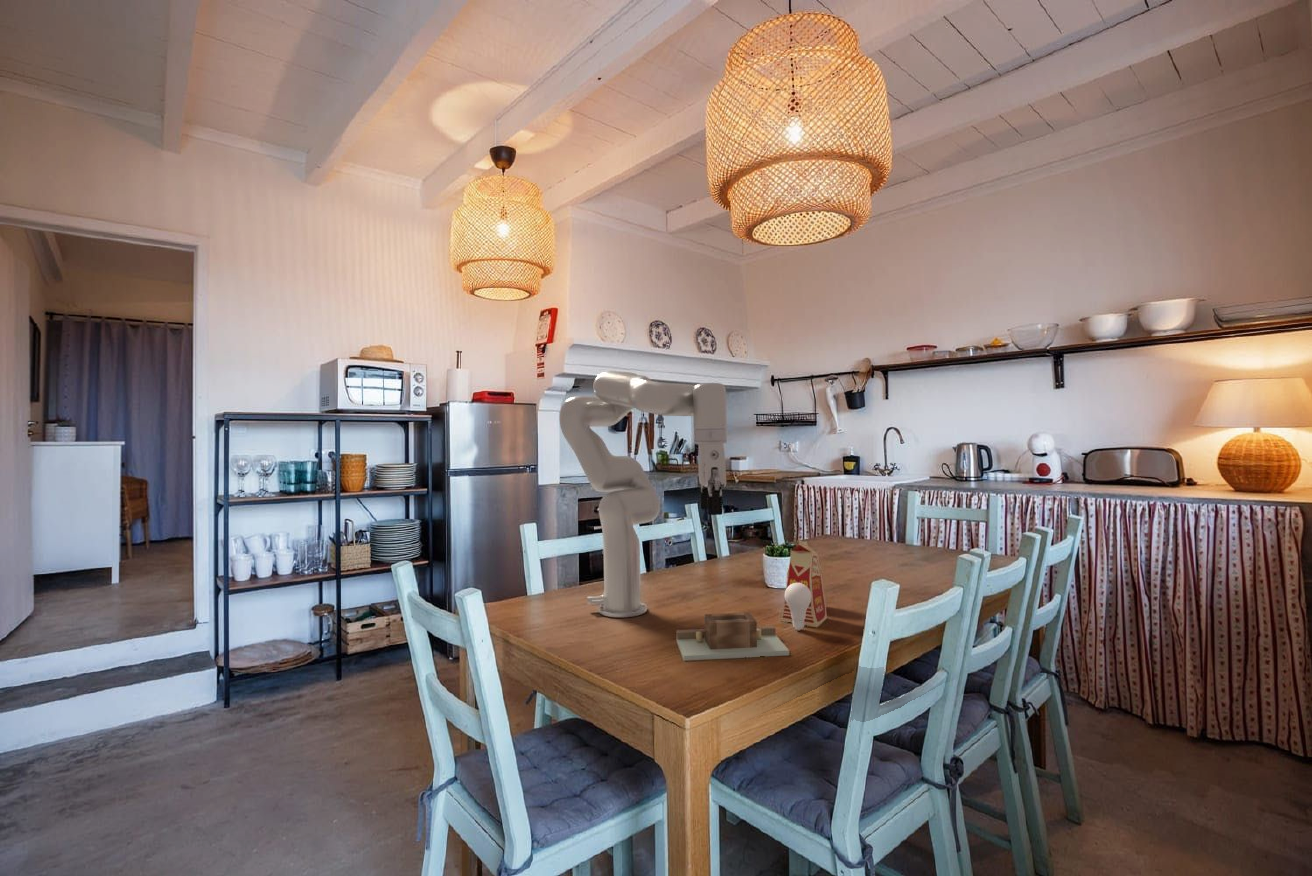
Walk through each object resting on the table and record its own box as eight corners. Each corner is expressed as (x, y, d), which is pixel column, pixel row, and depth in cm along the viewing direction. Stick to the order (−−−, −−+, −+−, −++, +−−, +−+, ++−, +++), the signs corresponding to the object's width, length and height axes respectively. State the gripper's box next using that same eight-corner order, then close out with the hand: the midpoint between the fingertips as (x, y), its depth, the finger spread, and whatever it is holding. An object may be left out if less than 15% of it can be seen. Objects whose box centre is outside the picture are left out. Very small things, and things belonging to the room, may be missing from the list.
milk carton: (816, 627, 147) (815, 542, 147) (779, 621, 152) (778, 539, 152) (828, 617, 155) (826, 536, 155) (792, 612, 160) (791, 534, 159)
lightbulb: (794, 624, 149) (793, 578, 149) (817, 630, 145) (816, 582, 145) (779, 630, 145) (779, 583, 145) (802, 636, 141) (801, 587, 141)
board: (683, 660, 127) (683, 646, 127) (676, 641, 139) (676, 627, 139) (789, 655, 129) (789, 640, 129) (773, 636, 141) (773, 623, 141)
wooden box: (709, 649, 130) (709, 623, 130) (705, 639, 137) (704, 614, 137) (757, 647, 131) (756, 621, 131) (749, 637, 138) (749, 612, 138)
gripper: (734, 437, 134) (735, 516, 135) (719, 436, 152) (720, 507, 152) (699, 437, 134) (701, 517, 134) (688, 437, 151) (689, 507, 151)
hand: (711, 511), depth 143 cm, fingers open, 9 cm apart
